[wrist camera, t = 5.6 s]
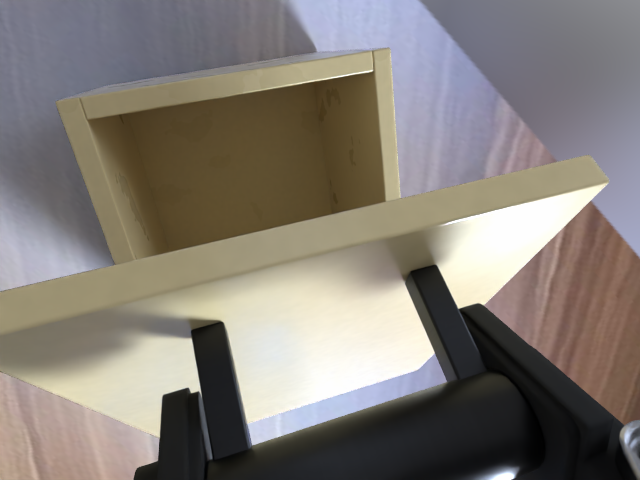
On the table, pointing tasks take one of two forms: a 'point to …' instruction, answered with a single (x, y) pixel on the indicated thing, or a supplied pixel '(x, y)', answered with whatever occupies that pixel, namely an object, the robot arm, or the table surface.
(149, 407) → the lid
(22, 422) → the table surface
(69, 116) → the box
